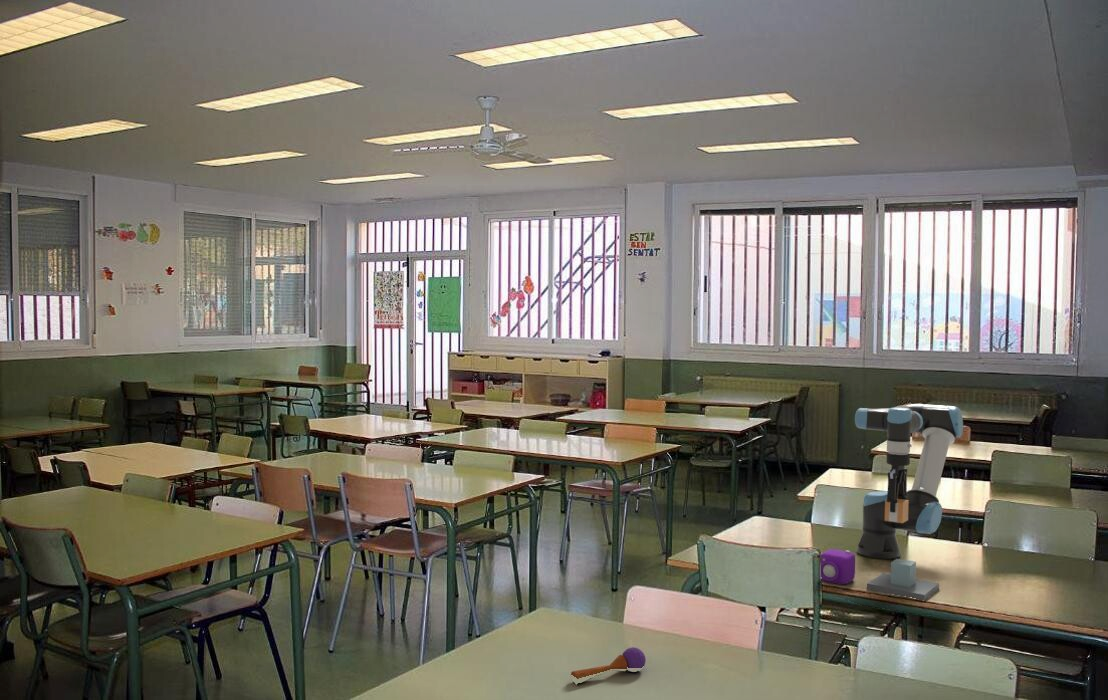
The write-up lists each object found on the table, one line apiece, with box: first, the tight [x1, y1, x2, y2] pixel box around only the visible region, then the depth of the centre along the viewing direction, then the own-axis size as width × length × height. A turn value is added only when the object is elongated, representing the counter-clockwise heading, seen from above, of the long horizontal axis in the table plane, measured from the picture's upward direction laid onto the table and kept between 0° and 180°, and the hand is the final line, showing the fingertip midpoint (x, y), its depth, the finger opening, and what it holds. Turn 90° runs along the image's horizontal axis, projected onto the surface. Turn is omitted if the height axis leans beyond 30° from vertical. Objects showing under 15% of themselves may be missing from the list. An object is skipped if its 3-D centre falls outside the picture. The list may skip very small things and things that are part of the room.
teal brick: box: [890, 558, 917, 587], centre depth 291 cm, size 6×6×7 cm
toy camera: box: [820, 548, 856, 585], centre depth 298 cm, size 11×14×10 cm
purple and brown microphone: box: [570, 646, 647, 679], centre depth 218 cm, size 6×6×20 cm
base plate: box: [866, 572, 940, 602], centre depth 291 cm, size 18×16×2 cm
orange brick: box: [885, 499, 909, 523], centre depth 308 cm, size 6×6×7 cm
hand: (896, 519), depth 308 cm, fingers closed on orange brick, 6 cm apart
